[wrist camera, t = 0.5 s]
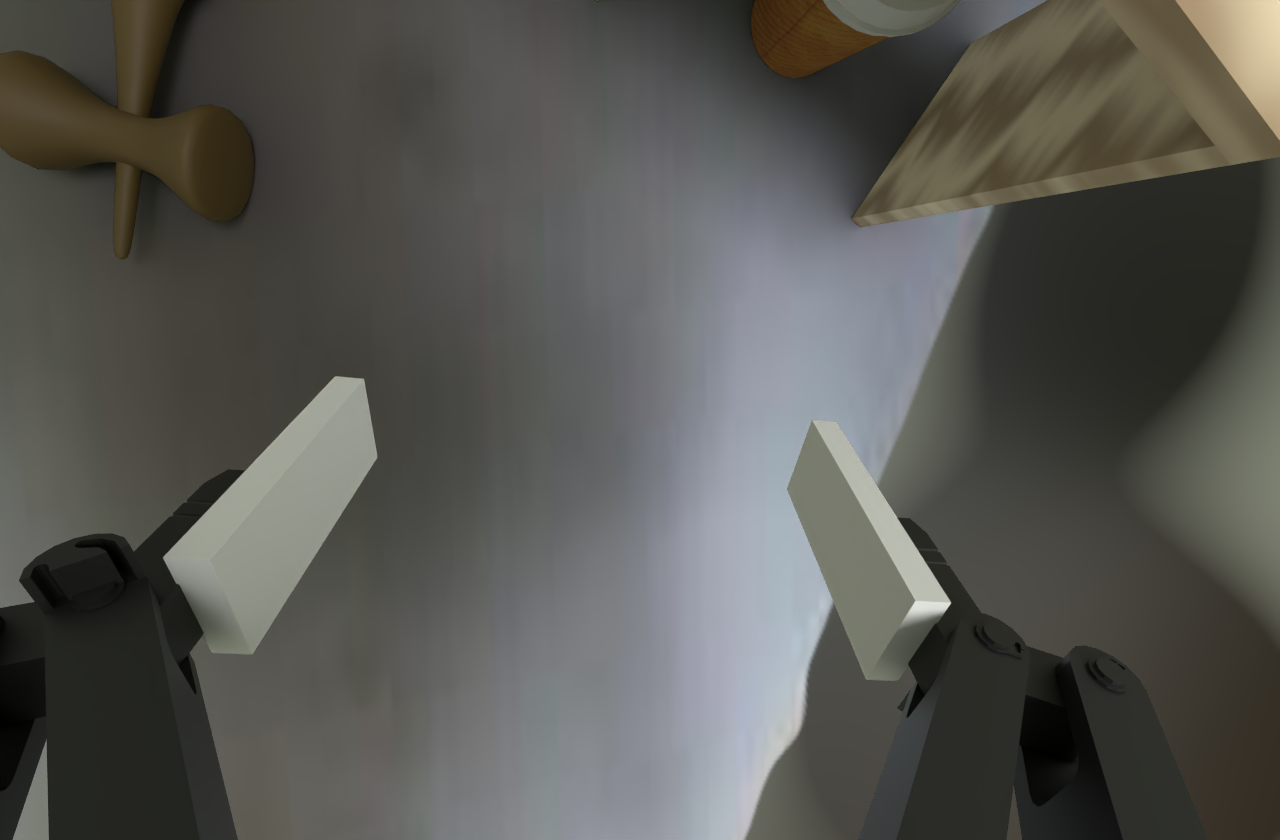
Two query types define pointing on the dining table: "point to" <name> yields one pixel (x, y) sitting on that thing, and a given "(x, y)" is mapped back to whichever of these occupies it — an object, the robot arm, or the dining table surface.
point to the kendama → (127, 124)
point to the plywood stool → (1090, 104)
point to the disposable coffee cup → (833, 29)
